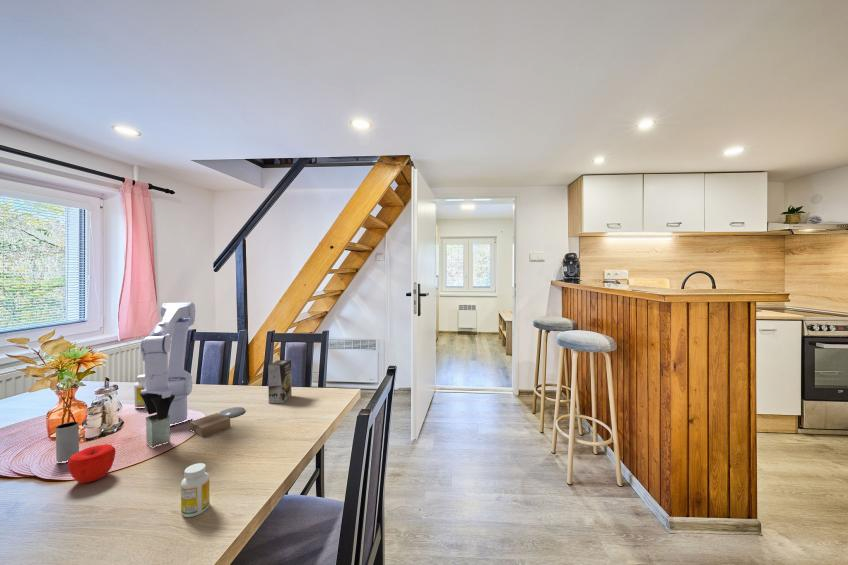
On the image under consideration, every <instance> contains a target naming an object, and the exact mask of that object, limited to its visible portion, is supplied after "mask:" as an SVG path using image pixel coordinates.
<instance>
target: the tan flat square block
mask: <svg viewBox="0 0 848 565" xmlns="http://www.w3.org/2000/svg"><path fill="white" fill-rule="evenodd" d="M230 427H231V418H228V417H226V416H223V415H221V414H219V412H216V413H213V414H210V415H207V416H203V417H201V418H197V419H195V420H190V421H189V431H190V430H192V431H194V432H195V433H196V434H195V433H194V434H195V435H197V436H199V437H201V438H204V437H207V436H210V435H213V434H215V433H218V432H220V431H222V430H225V429H228V428H230ZM192 431H191V432H192Z"/></svg>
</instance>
